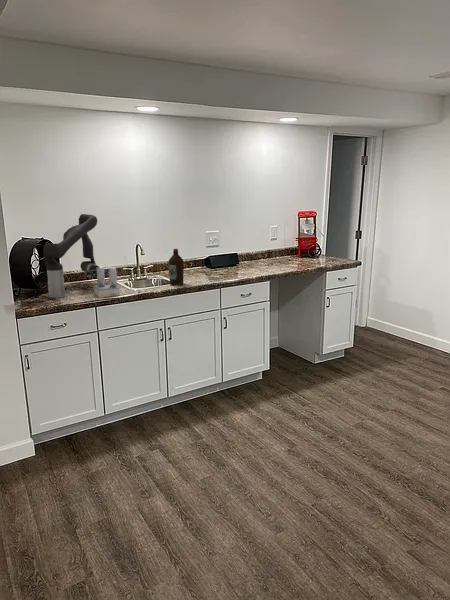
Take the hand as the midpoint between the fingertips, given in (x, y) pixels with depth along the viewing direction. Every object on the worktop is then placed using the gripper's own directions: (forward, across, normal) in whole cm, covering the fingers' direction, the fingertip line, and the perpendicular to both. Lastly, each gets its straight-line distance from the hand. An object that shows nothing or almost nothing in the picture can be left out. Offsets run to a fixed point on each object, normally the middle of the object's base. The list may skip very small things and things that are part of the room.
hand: (99, 273), depth 292 cm
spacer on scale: (+9, +6, +7) cm, 13 cm away
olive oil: (0, +53, +13) cm, 54 cm away
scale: (+6, +2, +12) cm, 14 cm away
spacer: (+3, 0, +7) cm, 8 cm away
